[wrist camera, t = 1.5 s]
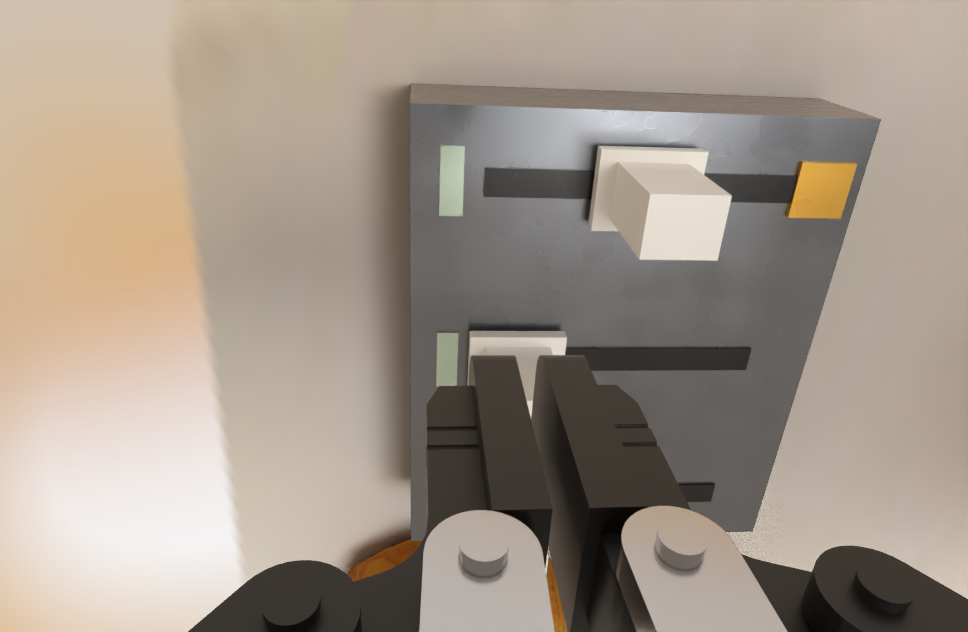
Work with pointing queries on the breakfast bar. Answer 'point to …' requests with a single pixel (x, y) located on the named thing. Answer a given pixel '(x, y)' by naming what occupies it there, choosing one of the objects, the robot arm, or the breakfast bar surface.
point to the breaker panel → (632, 262)
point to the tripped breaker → (659, 202)
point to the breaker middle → (519, 351)
